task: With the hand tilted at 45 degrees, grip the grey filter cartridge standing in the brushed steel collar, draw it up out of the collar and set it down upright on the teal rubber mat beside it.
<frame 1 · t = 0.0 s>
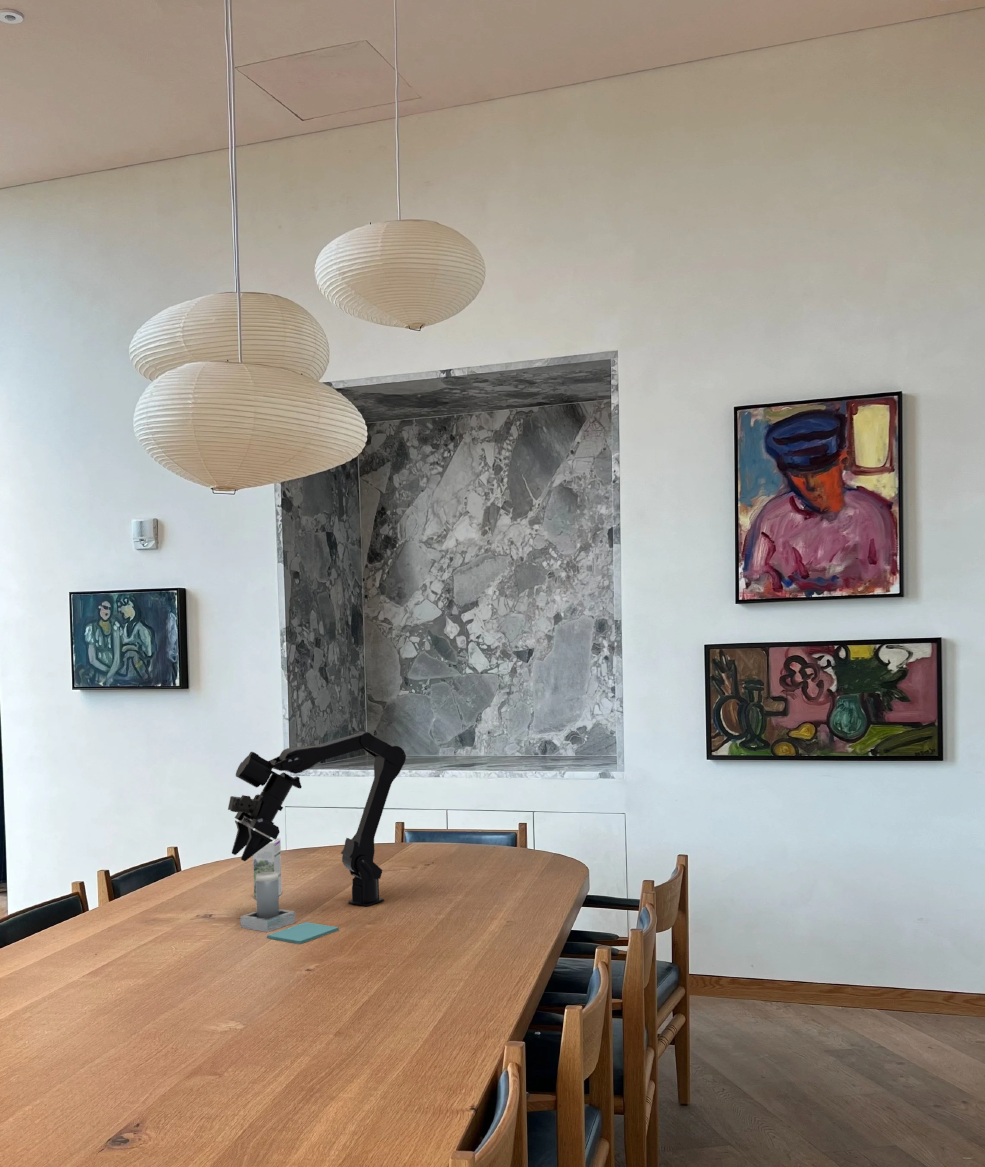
hand: (238, 857, 232), 15 cm above the table, tool tilted 35°, fingers open, 9 cm apart
cartridge: (267, 899, 228), in the collar
mat: (303, 934, 218), on the table
syrup box: (268, 897, 255), on the table
collar: (268, 925, 227), on the table
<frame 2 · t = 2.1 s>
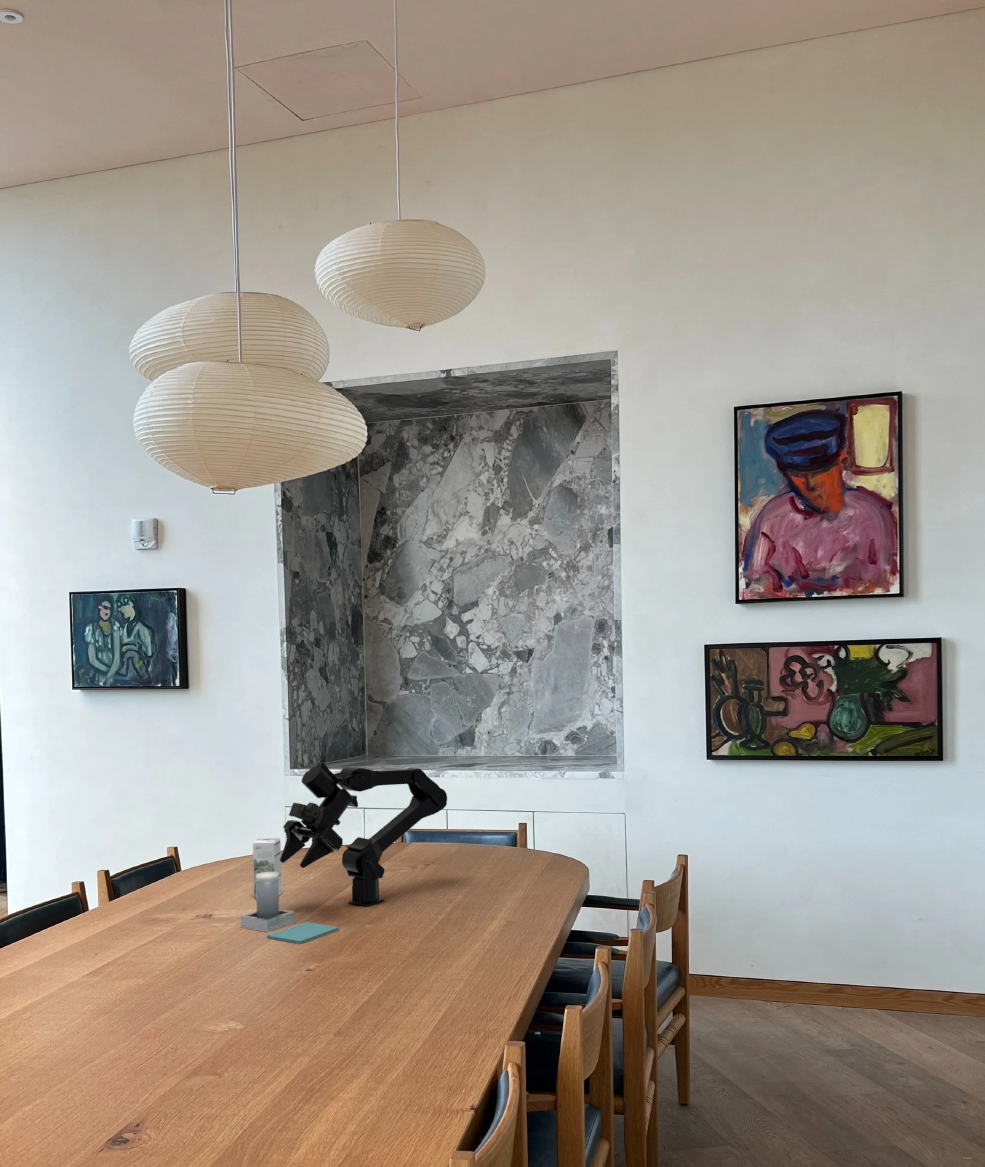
hand: (291, 864, 232), 13 cm above the table, tool tilted 45°, fingers open, 9 cm apart
nothing on the table moved.
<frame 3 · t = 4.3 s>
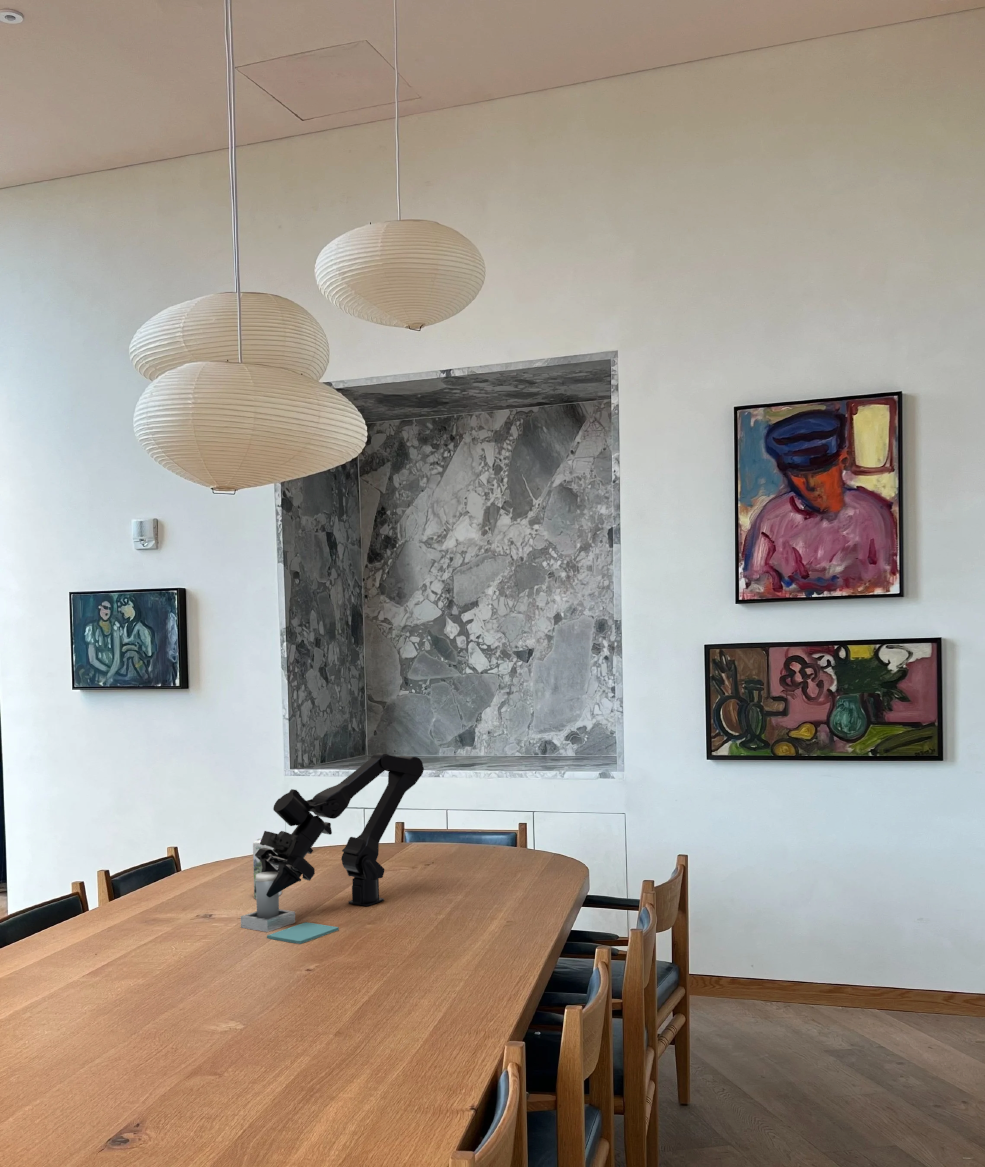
hand: (262, 894, 227), 7 cm above the table, tool tilted 45°, fingers closed on cartridge, 5 cm apart
cartridge: (267, 899, 228), in the collar, touching gripper
everything else where it was.
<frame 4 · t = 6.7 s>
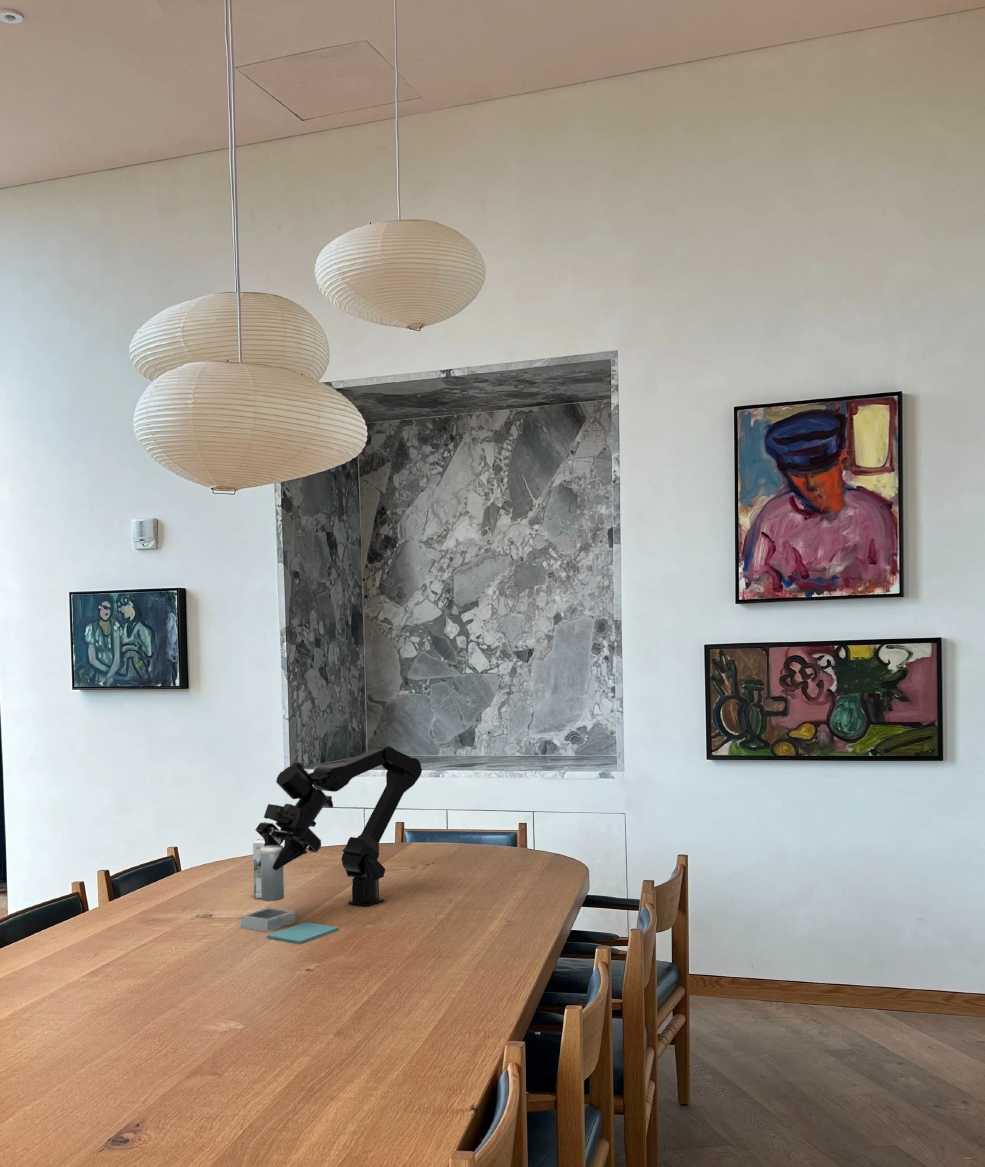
hand: (267, 867, 225), 14 cm above the table, tool tilted 45°, fingers closed on cartridge, 5 cm apart
cartridge: (272, 872, 226), point 12 cm above the table, touching gripper
everything else where it was.
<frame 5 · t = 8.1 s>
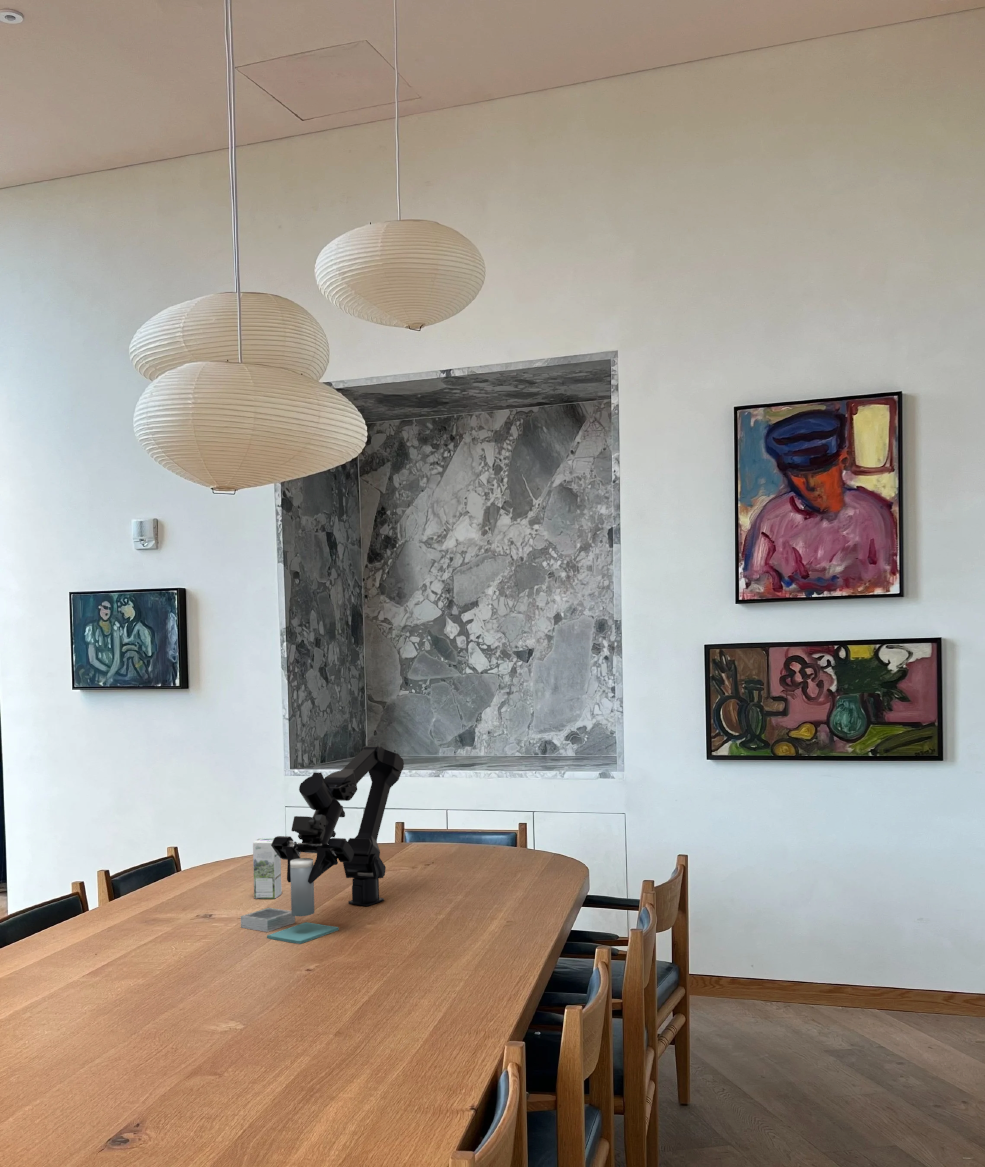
hand: (298, 881, 218), 12 cm above the table, tool tilted 45°, fingers closed on cartridge, 5 cm apart
cartridge: (302, 886, 219), point 10 cm above the table, touching gripper
everything else where it was.
when the fingers open (9 cm above the table, at t = 9.0 s): cartridge drops 1 cm, resting on mat.
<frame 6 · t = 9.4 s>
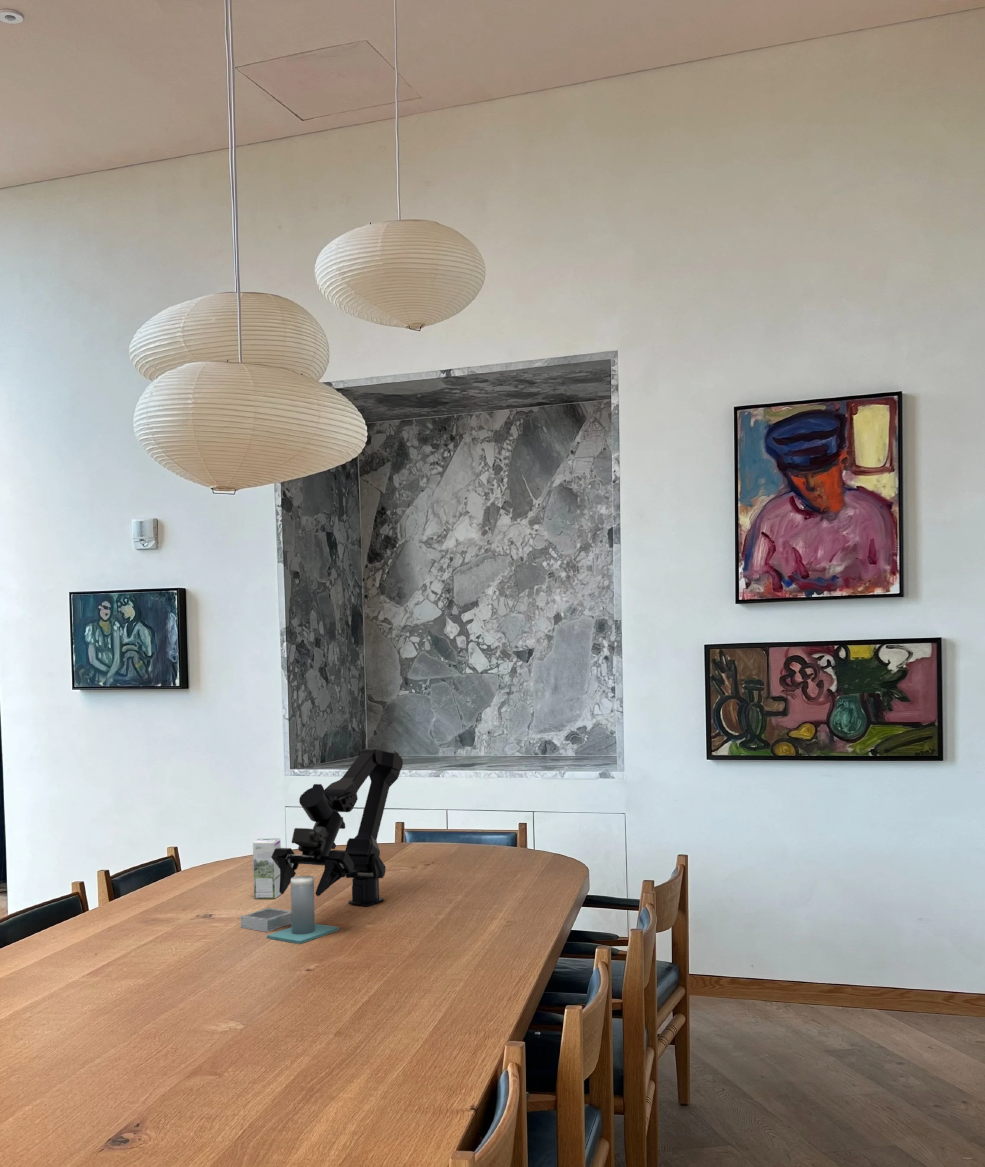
hand: (298, 894, 218), 9 cm above the table, tool tilted 45°, fingers open, 9 cm apart
cartridge: (302, 904, 219), on the mat, point 6 cm above the table
everything else where it was.
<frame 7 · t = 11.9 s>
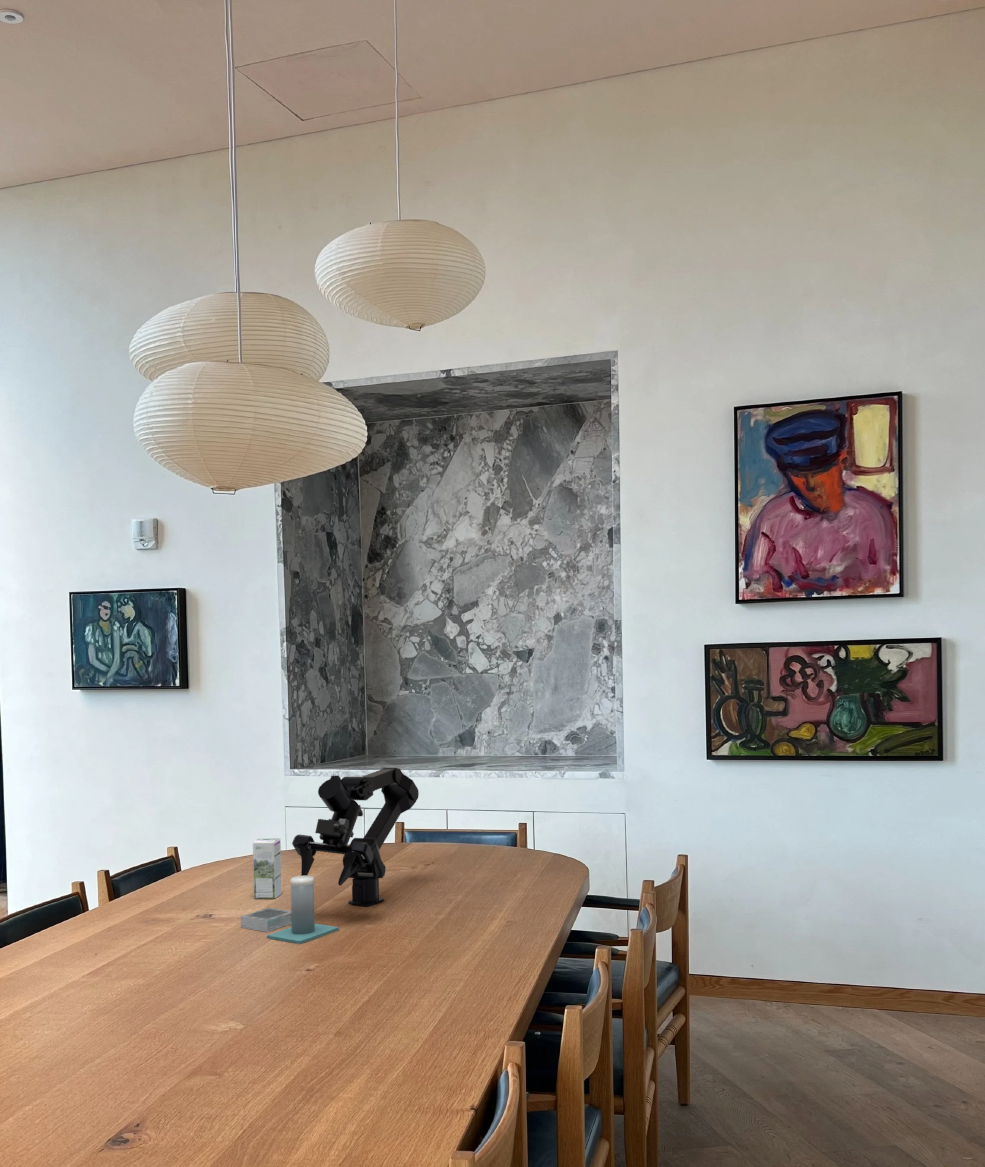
hand: (320, 882, 227), 9 cm above the table, tool tilted 40°, fingers open, 9 cm apart
nothing on the table moved.
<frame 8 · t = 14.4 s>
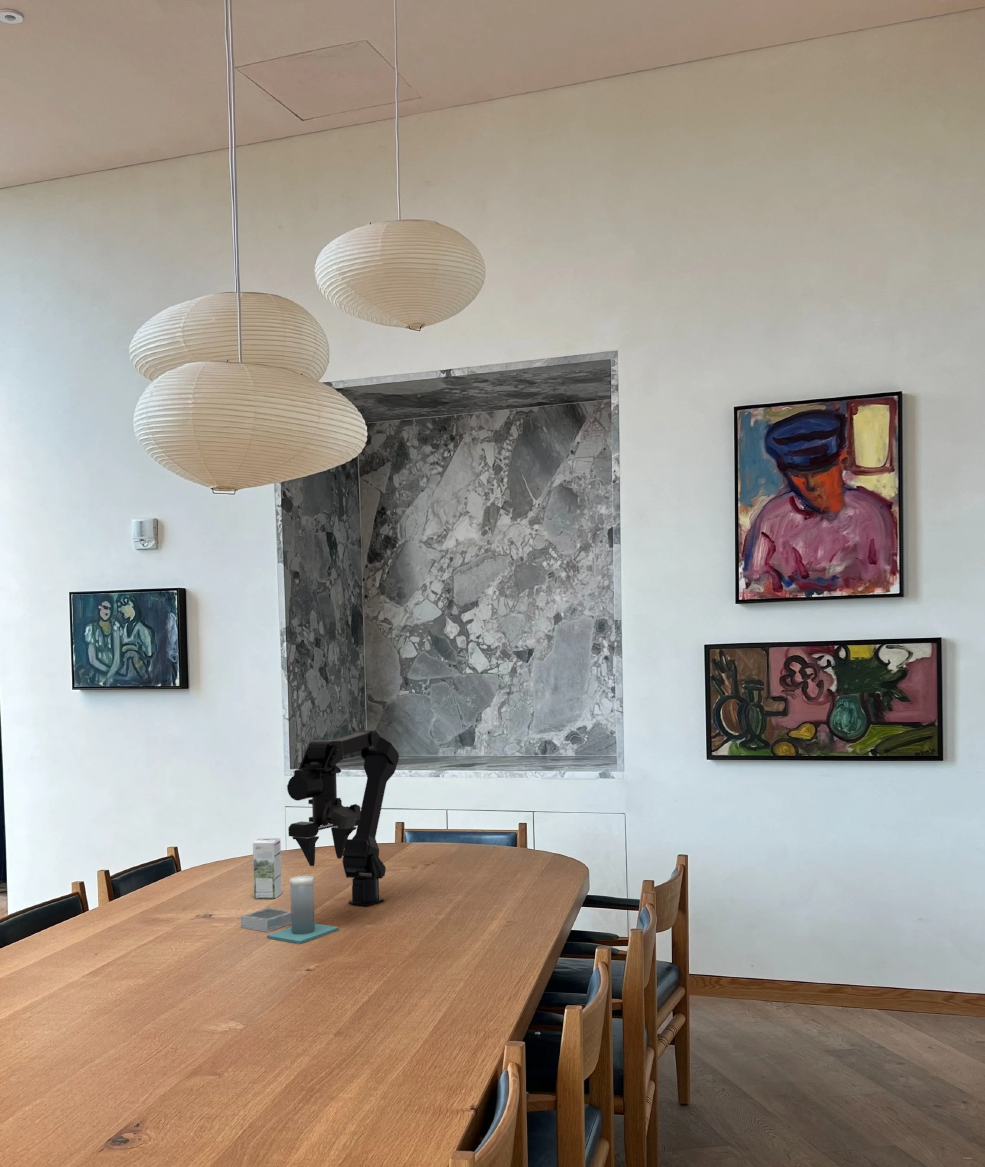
hand: (325, 862, 232), 13 cm above the table, tool pointing down, fingers open, 9 cm apart
nothing on the table moved.
at the end: cartridge inside the target area (0.1 cm from its centre), point 6.4 cm above the table; cartridge tilted 1°; the gripper is holding nothing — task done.
